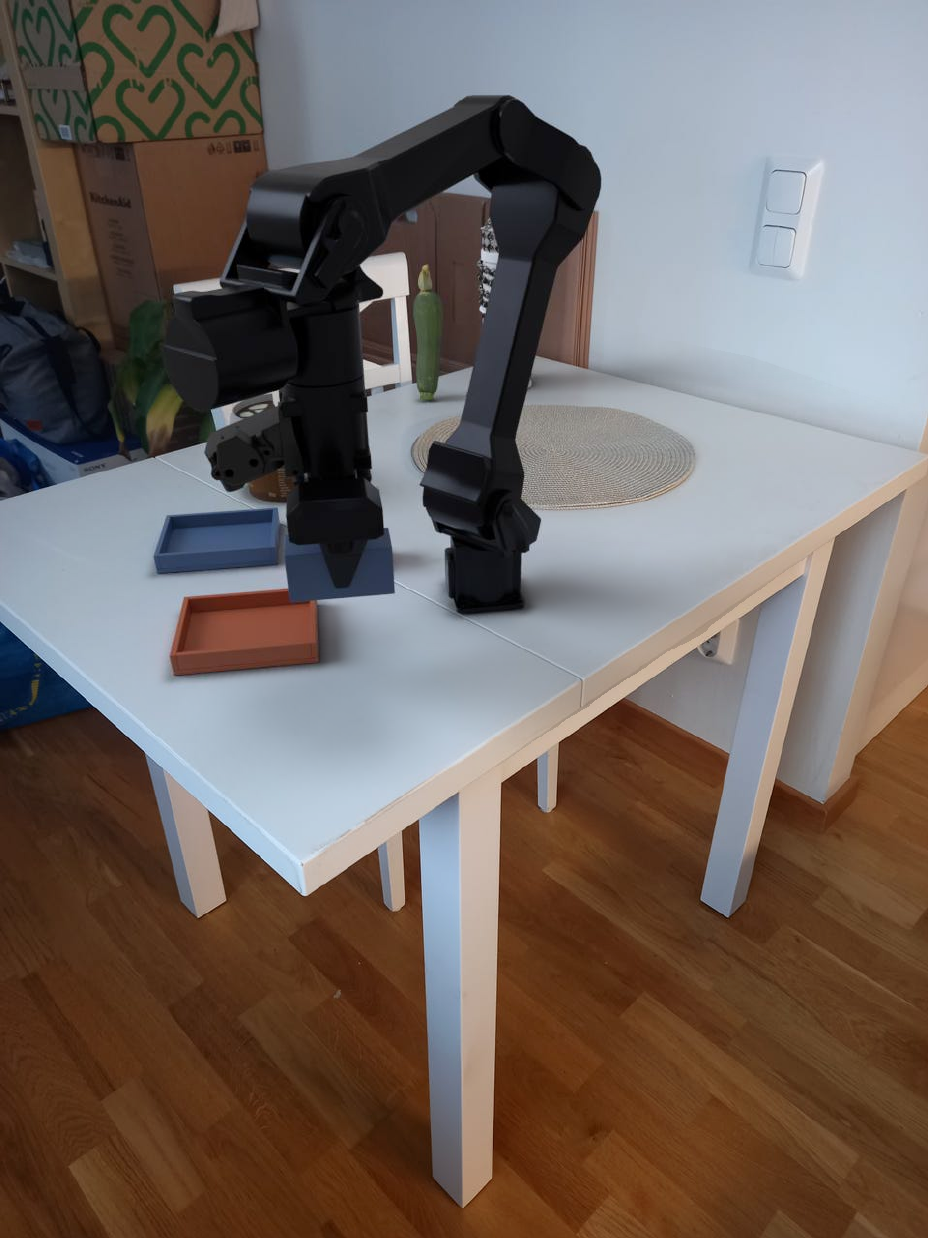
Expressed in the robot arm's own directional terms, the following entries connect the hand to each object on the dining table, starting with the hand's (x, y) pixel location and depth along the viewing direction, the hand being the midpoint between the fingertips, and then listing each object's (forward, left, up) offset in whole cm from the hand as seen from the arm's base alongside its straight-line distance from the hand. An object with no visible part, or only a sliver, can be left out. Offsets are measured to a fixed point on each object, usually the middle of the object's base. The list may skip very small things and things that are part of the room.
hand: (341, 575), depth 69 cm
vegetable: (-15, -73, -10) cm, 76 cm away
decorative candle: (-28, -79, -10) cm, 85 cm away
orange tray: (+9, -7, -9) cm, 15 cm away
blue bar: (0, 0, -1) cm, 1 cm away
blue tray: (+13, -26, -10) cm, 31 cm away
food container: (+9, -41, -10) cm, 43 cm away
